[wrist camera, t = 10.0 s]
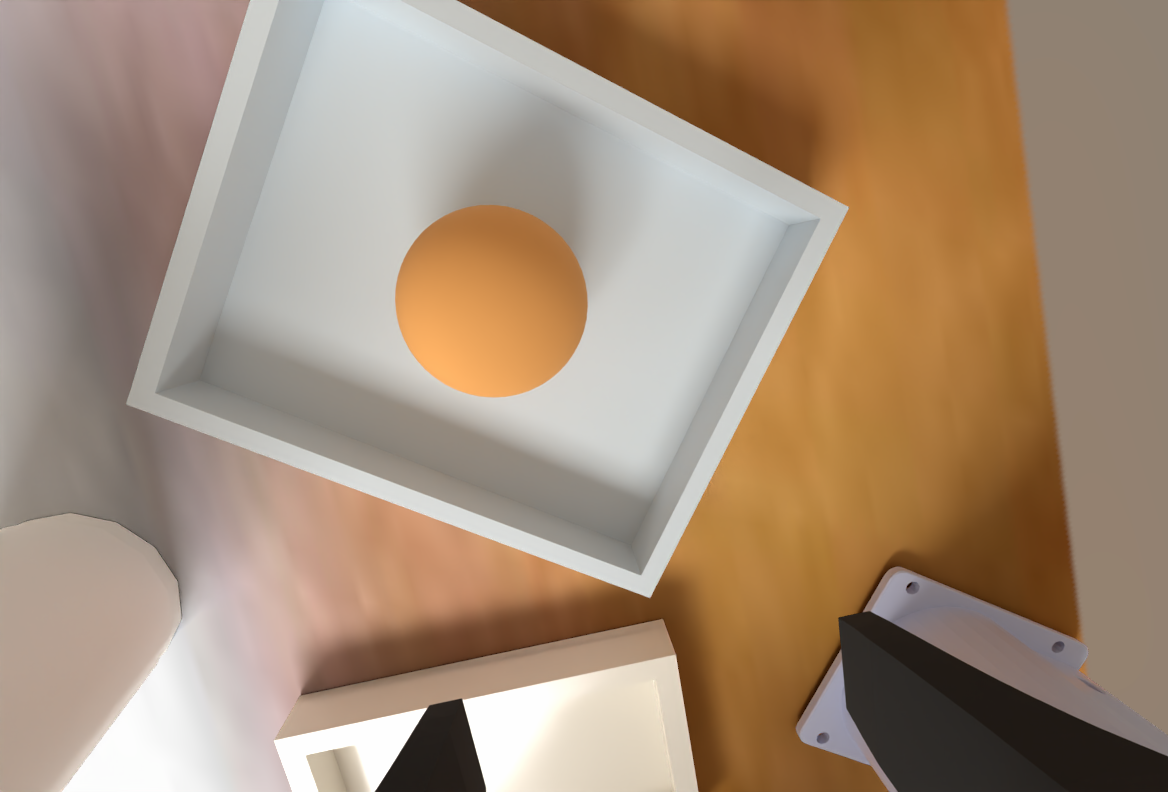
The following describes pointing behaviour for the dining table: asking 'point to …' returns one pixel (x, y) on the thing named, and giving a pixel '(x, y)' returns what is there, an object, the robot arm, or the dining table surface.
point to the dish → (514, 719)
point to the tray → (410, 205)
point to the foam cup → (74, 640)
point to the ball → (491, 301)
